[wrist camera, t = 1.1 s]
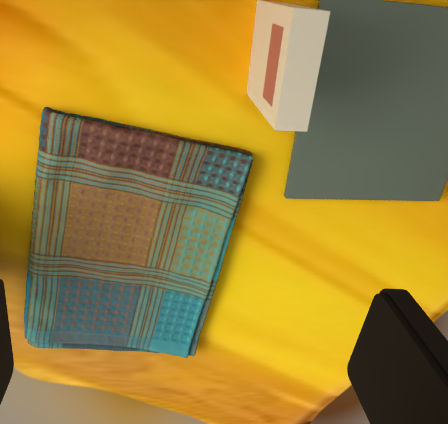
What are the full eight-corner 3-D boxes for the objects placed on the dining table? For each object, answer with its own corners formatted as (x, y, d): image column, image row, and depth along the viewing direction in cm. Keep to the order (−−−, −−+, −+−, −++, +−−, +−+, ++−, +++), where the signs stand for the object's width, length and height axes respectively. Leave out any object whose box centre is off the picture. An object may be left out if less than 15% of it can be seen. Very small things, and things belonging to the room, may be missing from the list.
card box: (256, -1, 29) (292, 7, 21) (285, 2, 29) (331, 11, 22) (245, 93, 32) (273, 130, 24) (272, 95, 32) (307, 131, 25)
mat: (320, -6, 29) (323, -6, 29) (505, 13, 32) (510, 13, 31) (284, 195, 37) (286, 198, 36) (435, 198, 39) (439, 201, 39)
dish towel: (25, 330, 41) (18, 350, 39) (40, 102, 31) (31, 112, 29) (193, 345, 45) (194, 364, 43) (255, 148, 35) (262, 160, 33)
